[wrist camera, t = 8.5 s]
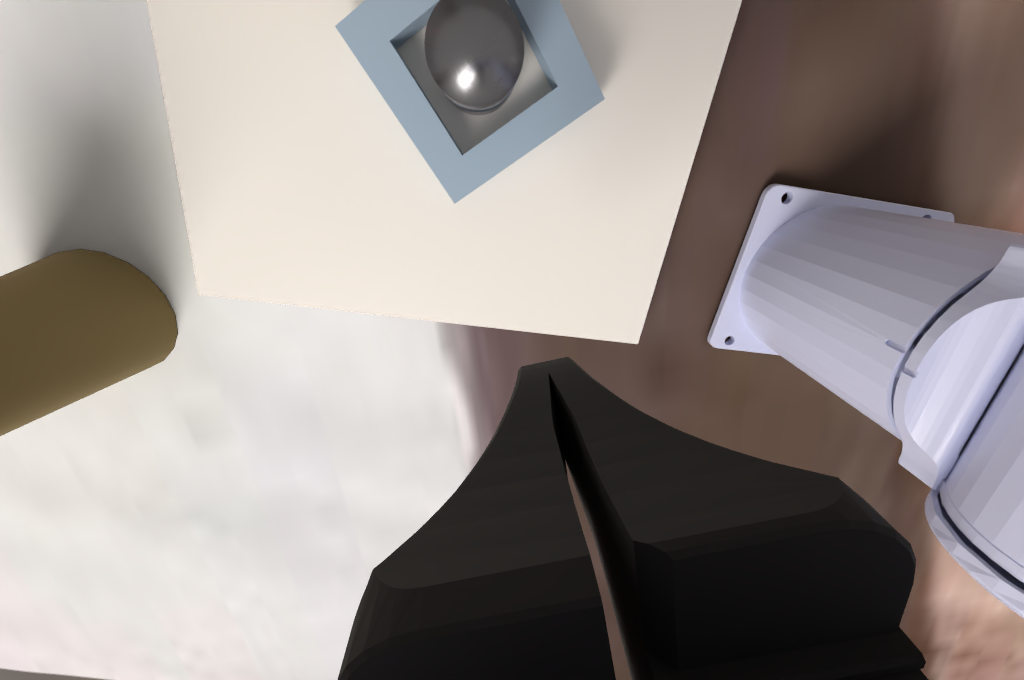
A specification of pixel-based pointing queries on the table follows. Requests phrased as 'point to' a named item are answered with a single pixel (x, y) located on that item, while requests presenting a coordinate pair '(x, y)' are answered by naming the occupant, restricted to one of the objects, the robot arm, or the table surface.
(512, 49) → the post
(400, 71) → the square ring with handle
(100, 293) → the cork
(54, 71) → the table surface
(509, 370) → the table surface
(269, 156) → the base plate
